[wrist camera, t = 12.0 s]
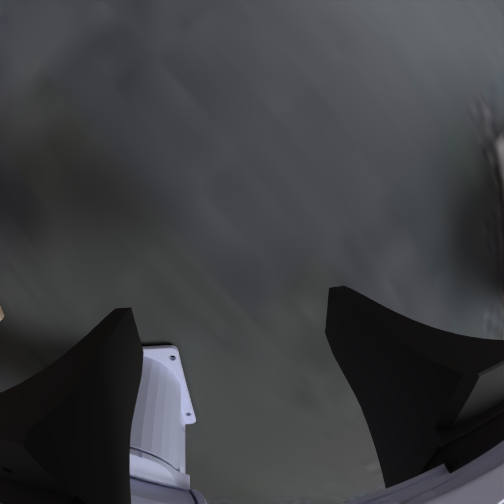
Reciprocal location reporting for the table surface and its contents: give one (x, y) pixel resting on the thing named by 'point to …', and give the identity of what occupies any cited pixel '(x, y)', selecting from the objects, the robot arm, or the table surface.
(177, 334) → the table surface
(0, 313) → the birch rack
